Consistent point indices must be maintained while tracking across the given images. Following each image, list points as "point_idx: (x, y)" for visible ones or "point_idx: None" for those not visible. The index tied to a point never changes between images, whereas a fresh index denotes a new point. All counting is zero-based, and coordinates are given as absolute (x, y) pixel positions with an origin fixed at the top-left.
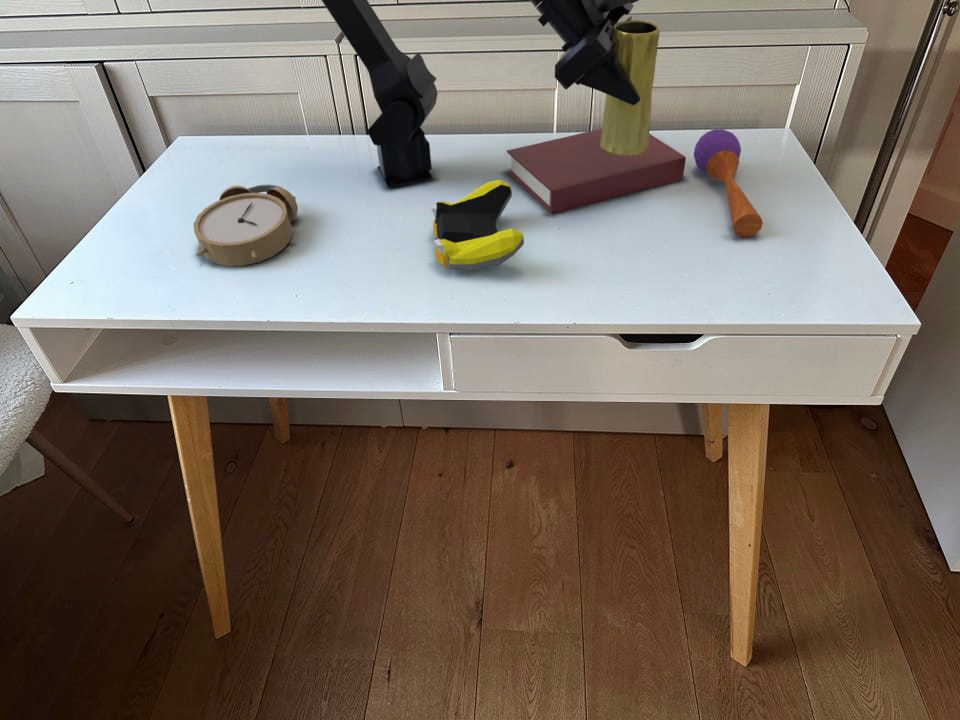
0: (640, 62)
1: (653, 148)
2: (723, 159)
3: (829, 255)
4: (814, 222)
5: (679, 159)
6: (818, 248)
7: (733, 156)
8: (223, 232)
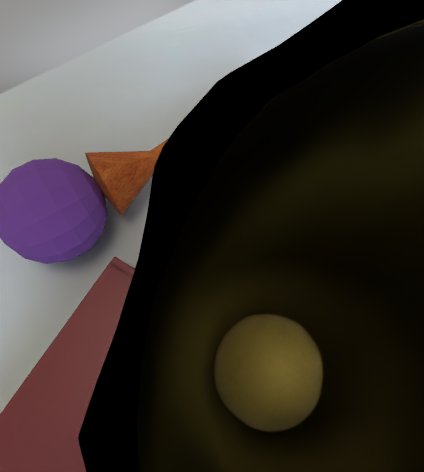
0: None
1: (100, 347)
2: (119, 167)
3: (257, 12)
4: (176, 47)
5: (129, 266)
6: (247, 26)
7: (99, 153)
8: None
